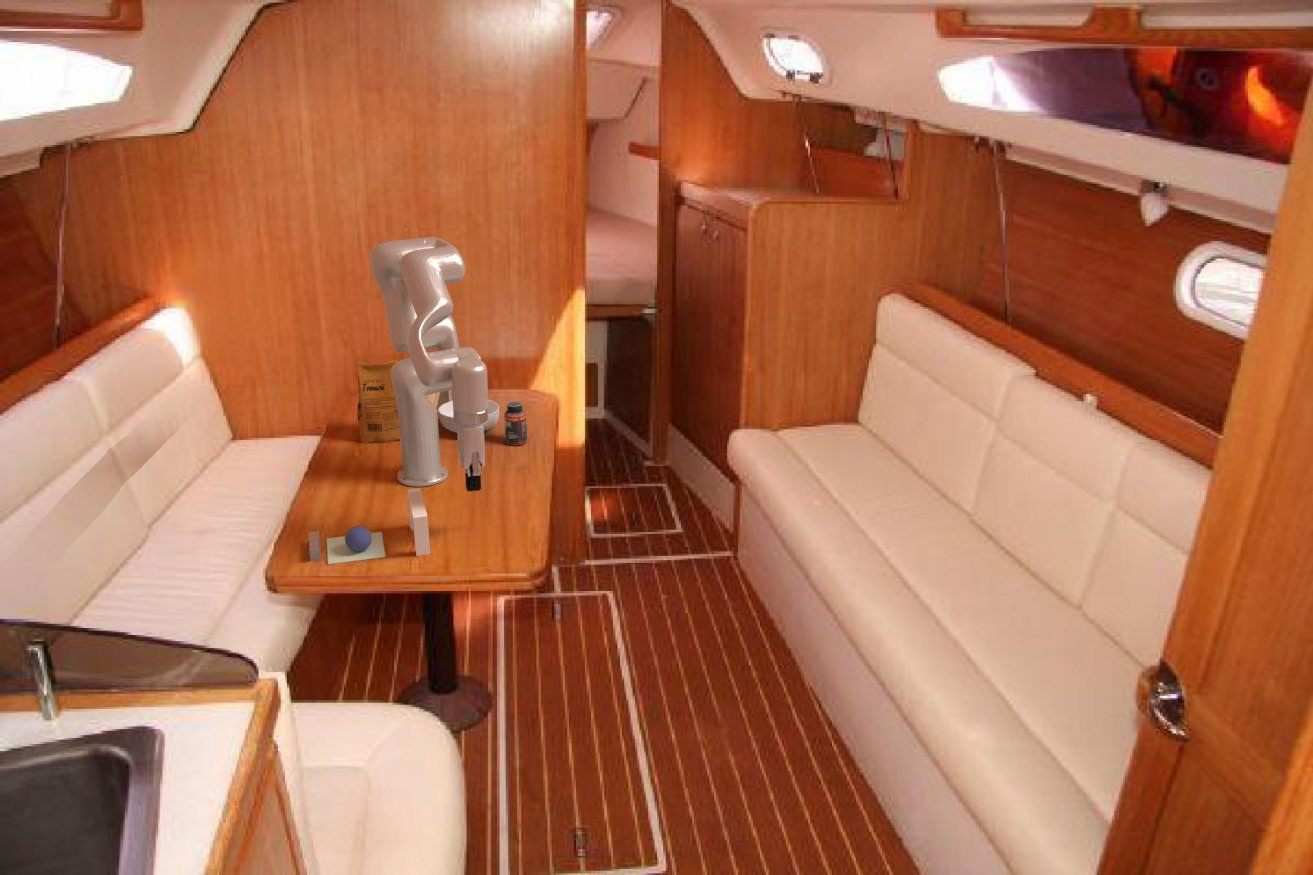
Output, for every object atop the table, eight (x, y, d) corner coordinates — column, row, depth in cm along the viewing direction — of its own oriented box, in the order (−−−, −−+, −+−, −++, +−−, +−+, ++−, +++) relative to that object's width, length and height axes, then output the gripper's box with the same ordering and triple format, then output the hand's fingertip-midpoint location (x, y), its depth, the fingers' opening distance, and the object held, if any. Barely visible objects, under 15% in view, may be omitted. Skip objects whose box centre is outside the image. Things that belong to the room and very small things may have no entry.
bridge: (416, 555, 227) (413, 517, 223) (410, 526, 240) (407, 489, 236) (430, 554, 228) (427, 516, 224) (423, 524, 241) (420, 488, 237)
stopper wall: (310, 542, 232) (309, 532, 231) (319, 541, 232) (318, 531, 232) (310, 561, 224) (309, 551, 223) (320, 560, 225) (319, 549, 224)
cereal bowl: (506, 421, 301) (505, 398, 298) (492, 443, 286) (491, 419, 283) (449, 418, 302) (447, 395, 300) (432, 440, 287) (430, 416, 284)
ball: (356, 517, 229) (375, 532, 232) (338, 536, 229) (357, 550, 231) (358, 526, 224) (378, 541, 227) (340, 545, 224) (360, 560, 226)
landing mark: (326, 539, 233) (326, 538, 233) (381, 532, 237) (381, 531, 237) (327, 564, 223) (327, 563, 223) (385, 557, 226) (385, 556, 226)
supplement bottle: (528, 438, 289) (526, 400, 285) (526, 446, 284) (525, 407, 279) (506, 438, 289) (504, 400, 285) (504, 446, 284) (502, 407, 279)
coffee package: (360, 431, 292) (352, 356, 284) (405, 428, 295) (399, 354, 286) (358, 445, 283) (350, 368, 275) (405, 441, 286) (398, 365, 277)
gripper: (449, 403, 232) (452, 476, 240) (458, 430, 219) (461, 506, 227) (482, 400, 234) (485, 472, 242) (493, 427, 221) (495, 503, 229)
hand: (473, 489), depth 234 cm, fingers closed
